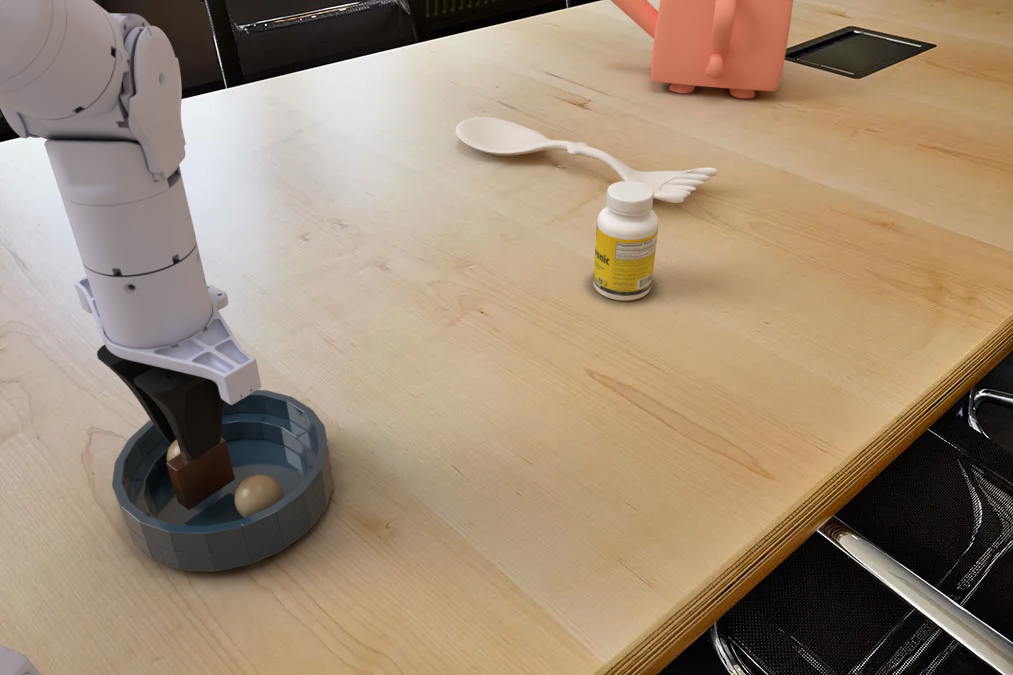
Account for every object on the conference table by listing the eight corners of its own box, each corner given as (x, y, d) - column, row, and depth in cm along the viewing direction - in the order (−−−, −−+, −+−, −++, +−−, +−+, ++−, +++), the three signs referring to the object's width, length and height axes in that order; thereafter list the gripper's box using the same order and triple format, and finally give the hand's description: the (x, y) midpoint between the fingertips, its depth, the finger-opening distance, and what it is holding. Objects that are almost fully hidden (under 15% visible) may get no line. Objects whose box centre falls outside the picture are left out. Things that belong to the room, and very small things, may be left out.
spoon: (678, 225, 89) (682, 194, 87) (441, 150, 104) (440, 122, 102) (715, 194, 95) (720, 165, 93) (486, 127, 110) (486, 101, 108)
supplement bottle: (589, 271, 81) (596, 176, 76) (646, 271, 81) (657, 176, 76) (595, 302, 77) (602, 204, 71) (655, 302, 77) (667, 204, 71)
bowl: (210, 615, 50) (196, 570, 47) (88, 509, 56) (70, 465, 54) (374, 487, 58) (369, 443, 56) (251, 408, 65) (242, 365, 62)
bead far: (188, 495, 57) (170, 464, 55) (170, 474, 59) (152, 443, 57) (228, 470, 58) (212, 438, 56) (209, 450, 60) (193, 418, 58)
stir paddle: (191, 513, 54) (159, 403, 49) (174, 500, 55) (141, 391, 50) (238, 481, 56) (212, 373, 51) (221, 469, 57) (194, 361, 52)
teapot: (593, 98, 119) (602, -39, 109) (612, 50, 137) (622, -72, 127) (778, 114, 115) (806, -27, 104) (773, 62, 133) (796, -63, 122)
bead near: (259, 539, 54) (251, 506, 52) (229, 516, 55) (220, 483, 53) (296, 511, 55) (289, 478, 54) (266, 490, 57) (259, 457, 55)
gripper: (289, 263, 44) (320, 456, 52) (130, 185, 51) (179, 365, 59) (170, 323, 40) (224, 525, 47) (14, 228, 47) (83, 417, 55)
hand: (192, 440), depth 53 cm, fingers closed on stir paddle, 2 cm apart
